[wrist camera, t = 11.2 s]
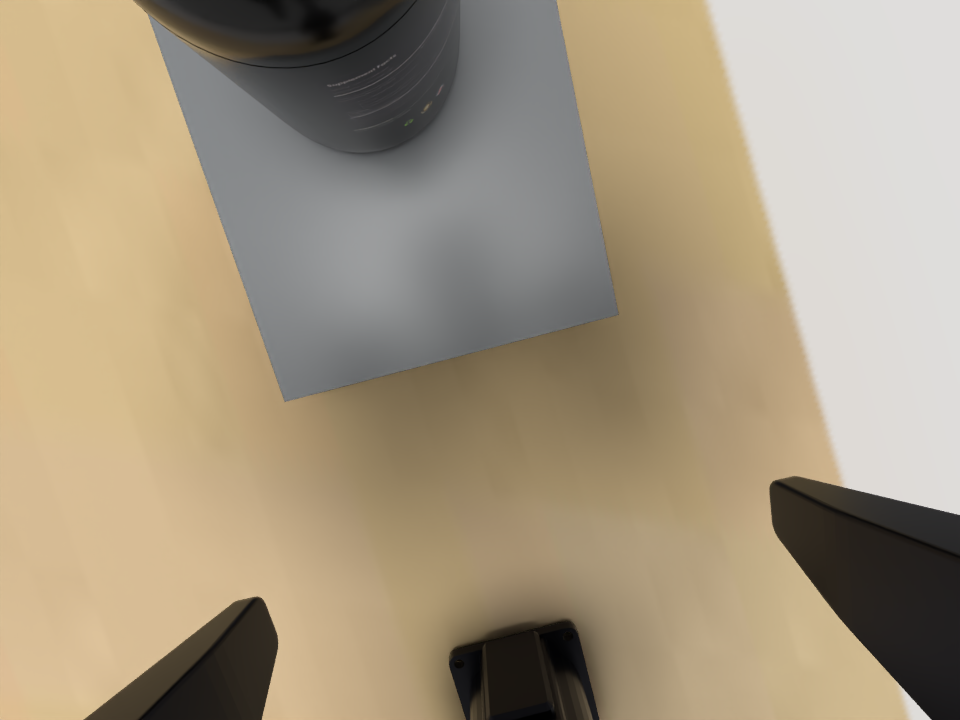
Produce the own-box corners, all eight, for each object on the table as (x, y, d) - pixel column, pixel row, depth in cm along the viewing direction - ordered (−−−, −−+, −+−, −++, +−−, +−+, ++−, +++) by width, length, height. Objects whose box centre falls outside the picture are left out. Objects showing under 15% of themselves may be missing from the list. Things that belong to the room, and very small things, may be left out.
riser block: (596, 308, 21) (618, 314, 18) (309, 382, 21) (285, 401, 18) (512, -95, 18) (523, -167, 15) (178, -4, 18) (122, -58, 15)
